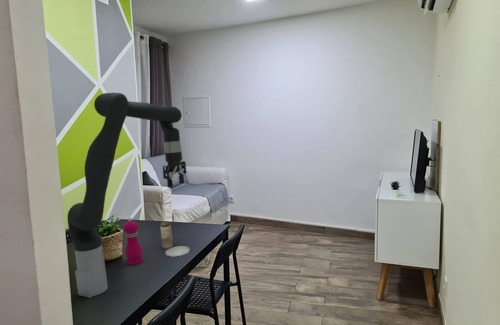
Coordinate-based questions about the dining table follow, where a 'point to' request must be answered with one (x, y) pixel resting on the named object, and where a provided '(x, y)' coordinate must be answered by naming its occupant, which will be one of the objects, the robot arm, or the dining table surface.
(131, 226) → the pepper mill
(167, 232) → the salt shaker
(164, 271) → the dining table surface
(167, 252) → the tile
